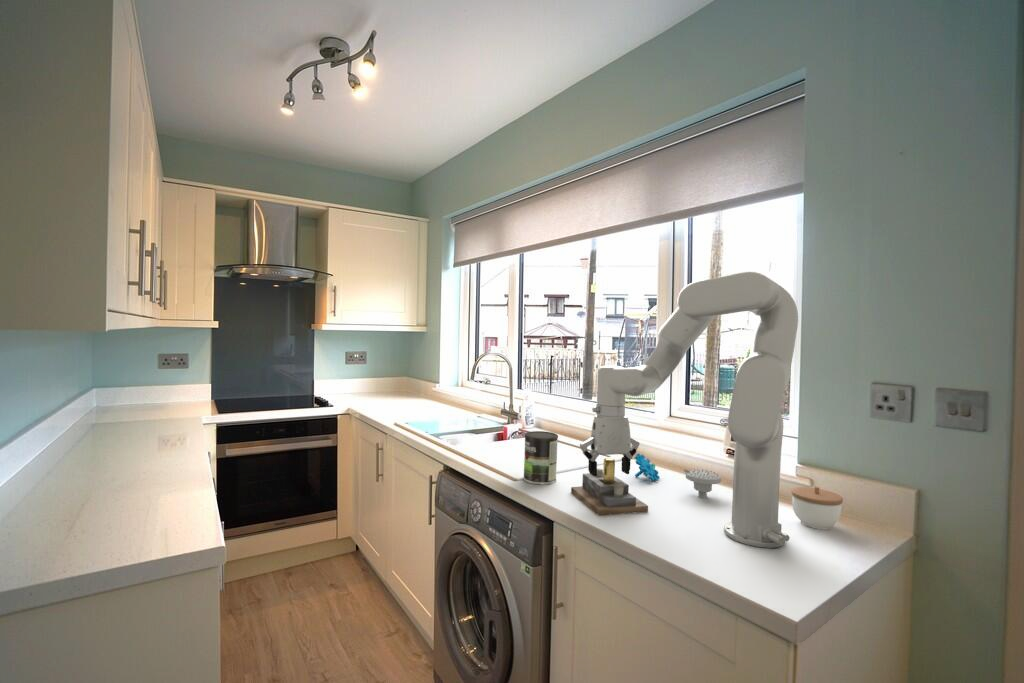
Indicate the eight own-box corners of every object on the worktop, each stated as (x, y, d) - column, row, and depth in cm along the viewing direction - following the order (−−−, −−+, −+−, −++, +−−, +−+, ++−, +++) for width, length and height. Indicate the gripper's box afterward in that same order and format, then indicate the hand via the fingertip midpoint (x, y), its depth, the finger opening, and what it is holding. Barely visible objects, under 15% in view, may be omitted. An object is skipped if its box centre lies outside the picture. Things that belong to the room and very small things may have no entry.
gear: (652, 480, 148) (633, 452, 154) (638, 491, 151) (619, 463, 156) (666, 477, 157) (648, 451, 162) (653, 488, 159) (635, 461, 164)
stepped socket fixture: (647, 511, 126) (648, 484, 126) (598, 515, 123) (599, 487, 123) (615, 489, 144) (616, 465, 144) (571, 492, 140) (571, 468, 140)
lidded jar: (780, 517, 125) (781, 481, 125) (814, 515, 127) (816, 479, 127) (816, 535, 114) (817, 495, 114) (852, 531, 117) (854, 492, 117)
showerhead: (683, 464, 146) (719, 468, 143) (682, 488, 146) (718, 493, 143) (683, 473, 137) (722, 477, 134) (682, 498, 137) (721, 503, 134)
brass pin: (615, 497, 132) (616, 460, 132) (605, 498, 131) (606, 461, 131) (610, 493, 135) (611, 457, 135) (600, 494, 134) (601, 458, 134)
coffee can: (533, 486, 144) (535, 439, 144) (517, 477, 153) (518, 432, 153) (563, 482, 149) (564, 436, 149) (545, 473, 158) (546, 430, 158)
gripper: (587, 414, 127) (585, 479, 127) (646, 412, 131) (644, 476, 132) (575, 409, 134) (574, 471, 134) (632, 408, 139) (630, 468, 139)
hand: (609, 473), depth 133 cm, fingers open, 9 cm apart
